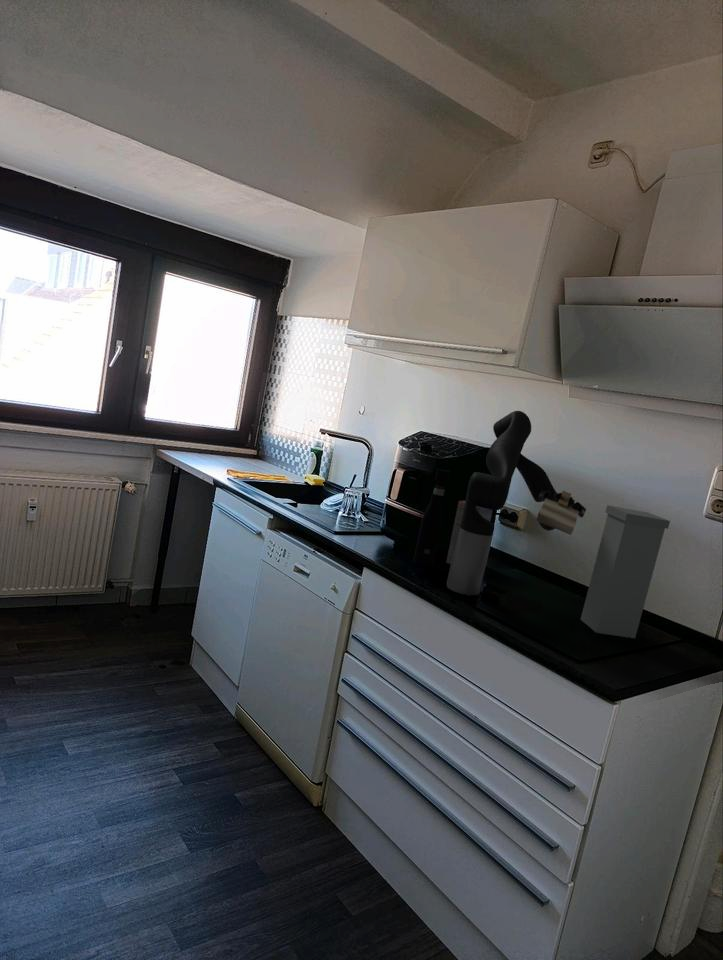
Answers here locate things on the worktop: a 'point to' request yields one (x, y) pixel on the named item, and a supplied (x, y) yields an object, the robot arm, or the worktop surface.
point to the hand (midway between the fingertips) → (564, 498)
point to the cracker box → (460, 509)
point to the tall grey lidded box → (623, 571)
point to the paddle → (558, 514)
